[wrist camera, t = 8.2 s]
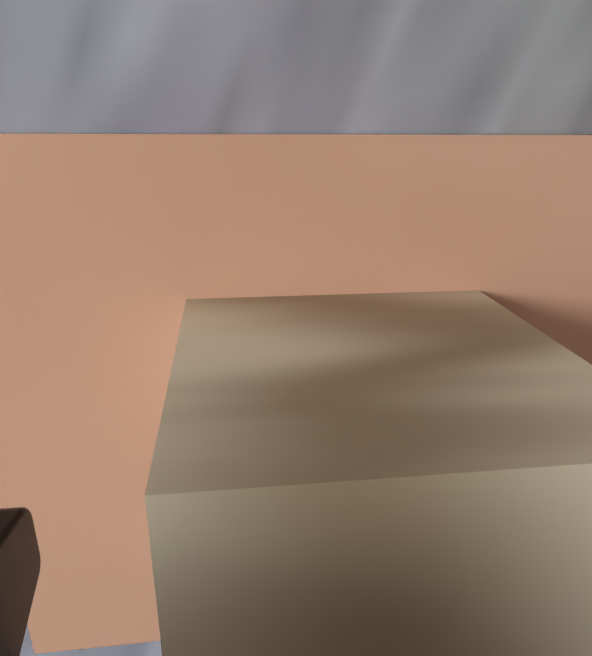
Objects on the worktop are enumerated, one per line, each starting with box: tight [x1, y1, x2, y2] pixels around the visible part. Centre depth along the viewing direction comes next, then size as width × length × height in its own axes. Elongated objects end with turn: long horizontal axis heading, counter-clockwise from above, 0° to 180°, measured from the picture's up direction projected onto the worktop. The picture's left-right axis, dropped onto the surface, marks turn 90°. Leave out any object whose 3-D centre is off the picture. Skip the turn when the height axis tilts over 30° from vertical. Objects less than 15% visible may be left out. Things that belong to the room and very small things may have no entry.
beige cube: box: [145, 290, 592, 656], centre depth 8 cm, size 5×5×5 cm
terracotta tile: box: [0, 133, 592, 654], centre depth 10 cm, size 12×10×1 cm
